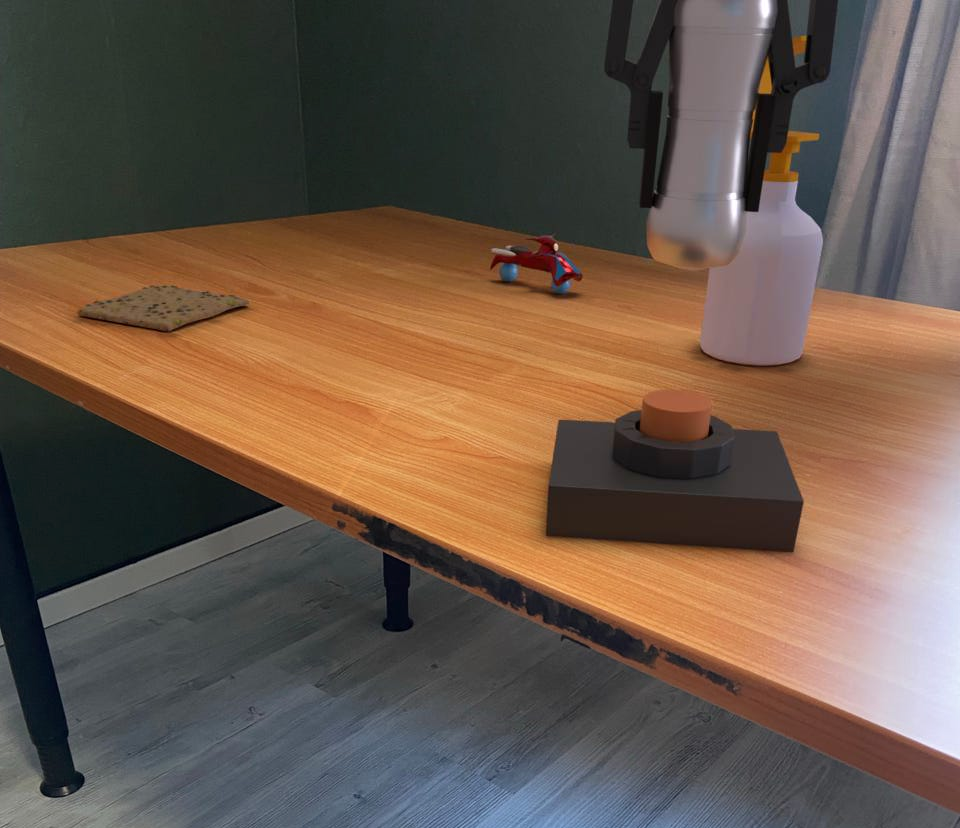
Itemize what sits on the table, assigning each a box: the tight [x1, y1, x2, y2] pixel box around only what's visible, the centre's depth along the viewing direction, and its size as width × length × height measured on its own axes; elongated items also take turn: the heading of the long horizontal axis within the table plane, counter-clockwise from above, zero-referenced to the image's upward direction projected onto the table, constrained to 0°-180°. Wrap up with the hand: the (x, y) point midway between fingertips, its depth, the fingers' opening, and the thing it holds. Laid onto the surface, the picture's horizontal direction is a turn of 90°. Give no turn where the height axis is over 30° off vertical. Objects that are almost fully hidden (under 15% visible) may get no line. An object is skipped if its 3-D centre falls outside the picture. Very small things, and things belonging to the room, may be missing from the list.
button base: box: [545, 409, 805, 553], centre depth 60 cm, size 14×11×5 cm
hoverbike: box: [489, 233, 583, 295], centre depth 109 cm, size 5×12×6 cm, turn 45°
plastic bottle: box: [645, 0, 778, 271], centre depth 62 cm, size 6×7×20 cm
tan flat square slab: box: [77, 285, 250, 332], centre depth 99 cm, size 12×12×1 cm
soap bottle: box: [699, 34, 824, 367], centre depth 83 cm, size 9×9×25 cm
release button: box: [639, 388, 713, 442], centre depth 58 cm, size 4×4×2 cm
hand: (697, 205), depth 65 cm, fingers closed on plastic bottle, 6 cm apart
